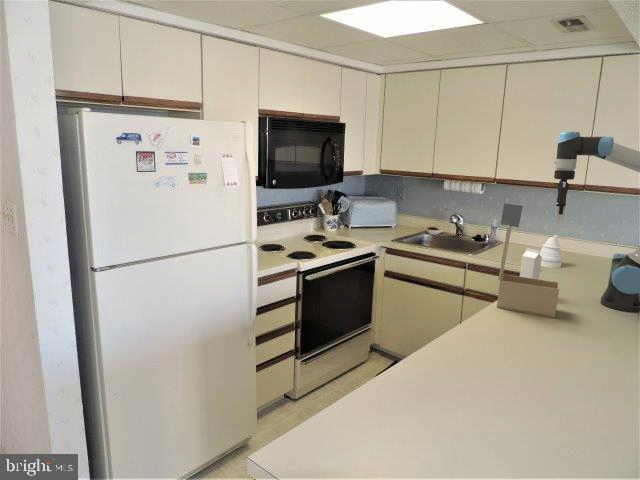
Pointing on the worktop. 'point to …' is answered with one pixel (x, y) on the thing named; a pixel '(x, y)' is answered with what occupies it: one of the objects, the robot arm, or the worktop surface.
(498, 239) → the worktop surface
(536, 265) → the milk
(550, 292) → the carton
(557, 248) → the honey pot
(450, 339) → the worktop surface
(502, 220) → the flap
